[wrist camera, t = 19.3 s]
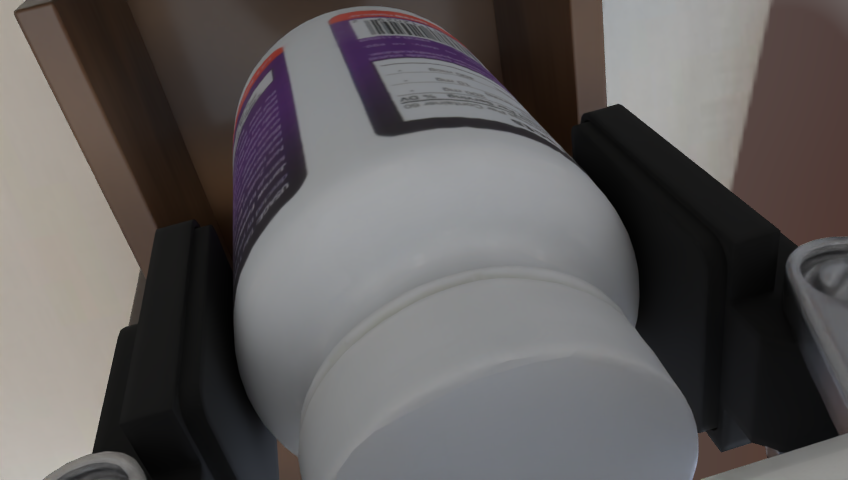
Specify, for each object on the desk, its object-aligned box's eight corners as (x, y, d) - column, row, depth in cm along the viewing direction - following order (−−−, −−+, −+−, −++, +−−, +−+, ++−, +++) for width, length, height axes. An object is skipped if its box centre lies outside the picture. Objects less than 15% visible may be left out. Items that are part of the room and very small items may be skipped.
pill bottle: (325, 281, 17) (406, 728, 9) (176, 94, 14) (87, 505, 6) (528, 163, 16) (813, 519, 8) (417, -56, 13) (690, 161, 5)
